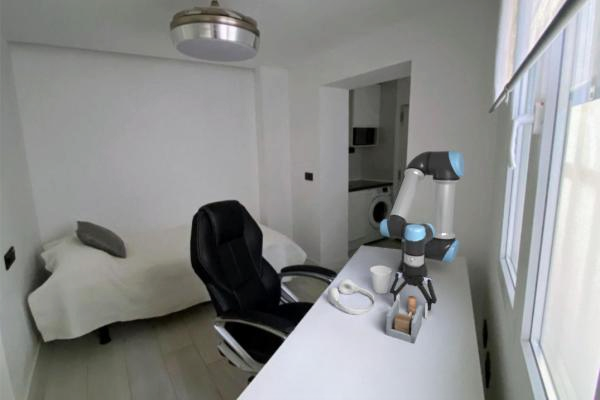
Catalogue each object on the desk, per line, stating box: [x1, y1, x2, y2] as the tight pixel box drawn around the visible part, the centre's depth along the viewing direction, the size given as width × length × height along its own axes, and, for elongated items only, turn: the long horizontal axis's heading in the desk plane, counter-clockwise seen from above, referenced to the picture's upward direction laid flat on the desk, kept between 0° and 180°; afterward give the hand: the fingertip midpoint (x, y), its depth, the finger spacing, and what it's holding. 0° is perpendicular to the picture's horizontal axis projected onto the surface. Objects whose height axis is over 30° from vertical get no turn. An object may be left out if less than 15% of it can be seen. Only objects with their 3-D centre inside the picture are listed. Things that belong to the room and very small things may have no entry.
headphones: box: [327, 278, 376, 316], centre depth 134 cm, size 7×18×20 cm
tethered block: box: [394, 295, 417, 335], centre depth 117 cm, size 19×5×7 cm, turn 148°
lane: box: [385, 299, 423, 344], centre depth 113 cm, size 13×10×8 cm
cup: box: [369, 265, 392, 295], centre depth 142 cm, size 10×10×11 cm
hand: (411, 313), depth 124 cm, fingers open, 11 cm apart
